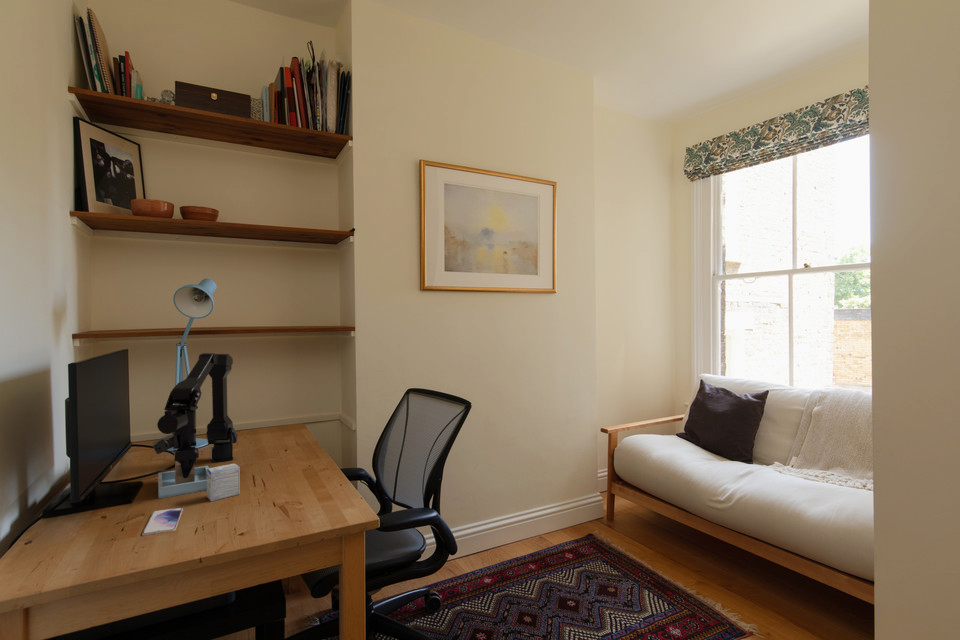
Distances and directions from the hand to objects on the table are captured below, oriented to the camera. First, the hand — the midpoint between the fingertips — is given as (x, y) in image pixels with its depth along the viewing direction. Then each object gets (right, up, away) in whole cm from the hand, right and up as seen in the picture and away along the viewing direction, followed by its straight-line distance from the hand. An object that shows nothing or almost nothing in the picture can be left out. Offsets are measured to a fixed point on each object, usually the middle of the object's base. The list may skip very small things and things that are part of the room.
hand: (185, 475), depth 150 cm
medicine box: (+16, -4, -8) cm, 19 cm away
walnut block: (0, -2, 0) cm, 2 cm away
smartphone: (+10, -4, -26) cm, 28 cm away
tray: (0, -3, 0) cm, 3 cm away
